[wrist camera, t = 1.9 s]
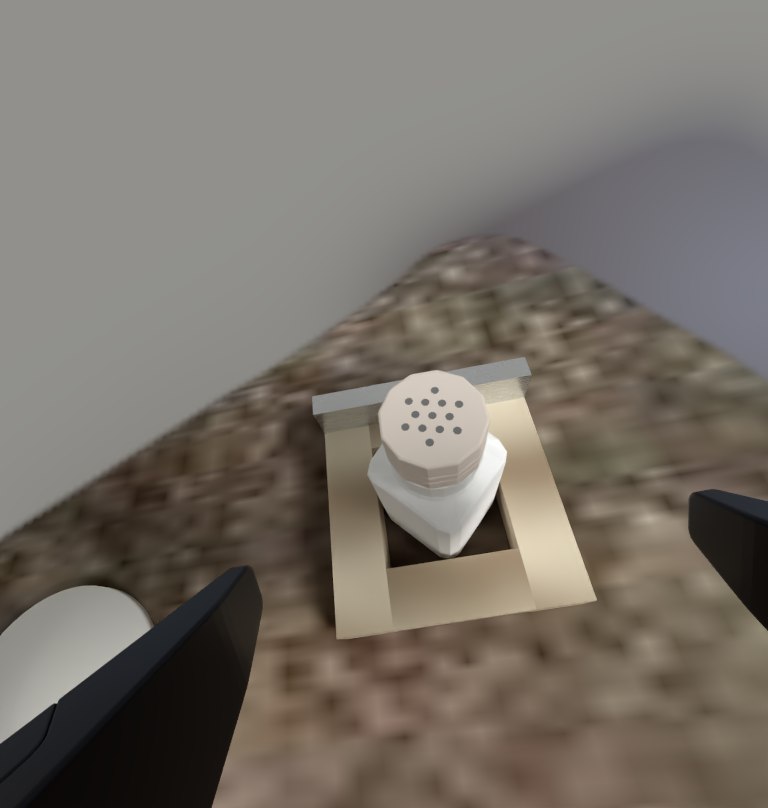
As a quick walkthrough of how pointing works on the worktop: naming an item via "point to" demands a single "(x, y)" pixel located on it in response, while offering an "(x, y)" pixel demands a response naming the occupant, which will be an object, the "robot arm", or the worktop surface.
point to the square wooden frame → (459, 577)
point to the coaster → (62, 648)
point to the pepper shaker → (436, 460)
